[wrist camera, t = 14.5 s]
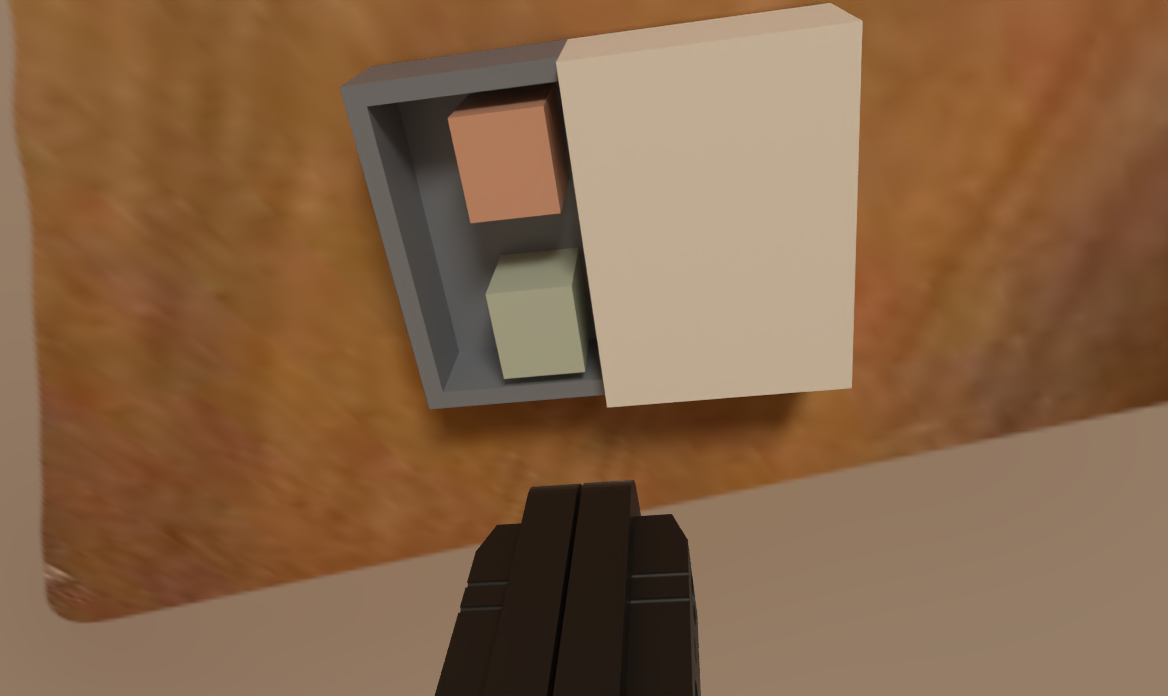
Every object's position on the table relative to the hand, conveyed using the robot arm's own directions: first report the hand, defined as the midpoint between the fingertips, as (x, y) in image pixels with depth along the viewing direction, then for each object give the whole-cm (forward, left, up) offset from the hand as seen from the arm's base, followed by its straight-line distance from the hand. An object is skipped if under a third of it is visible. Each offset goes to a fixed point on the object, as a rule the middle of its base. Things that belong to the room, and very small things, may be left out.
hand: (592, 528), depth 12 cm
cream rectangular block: (-3, +4, -24) cm, 25 cm away
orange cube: (+3, 0, -22) cm, 22 cm away
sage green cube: (+3, +7, -22) cm, 23 cm away
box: (+6, +3, -24) cm, 25 cm away
